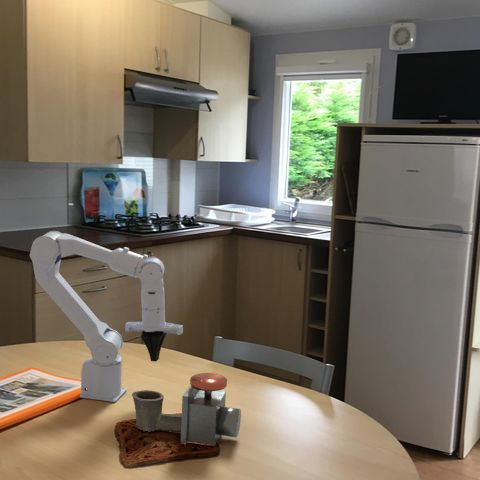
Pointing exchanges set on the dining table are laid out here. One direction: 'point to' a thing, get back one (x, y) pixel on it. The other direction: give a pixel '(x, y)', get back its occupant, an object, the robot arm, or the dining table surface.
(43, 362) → the dining table surface
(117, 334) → the robot arm
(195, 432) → the valve
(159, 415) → the pipe
